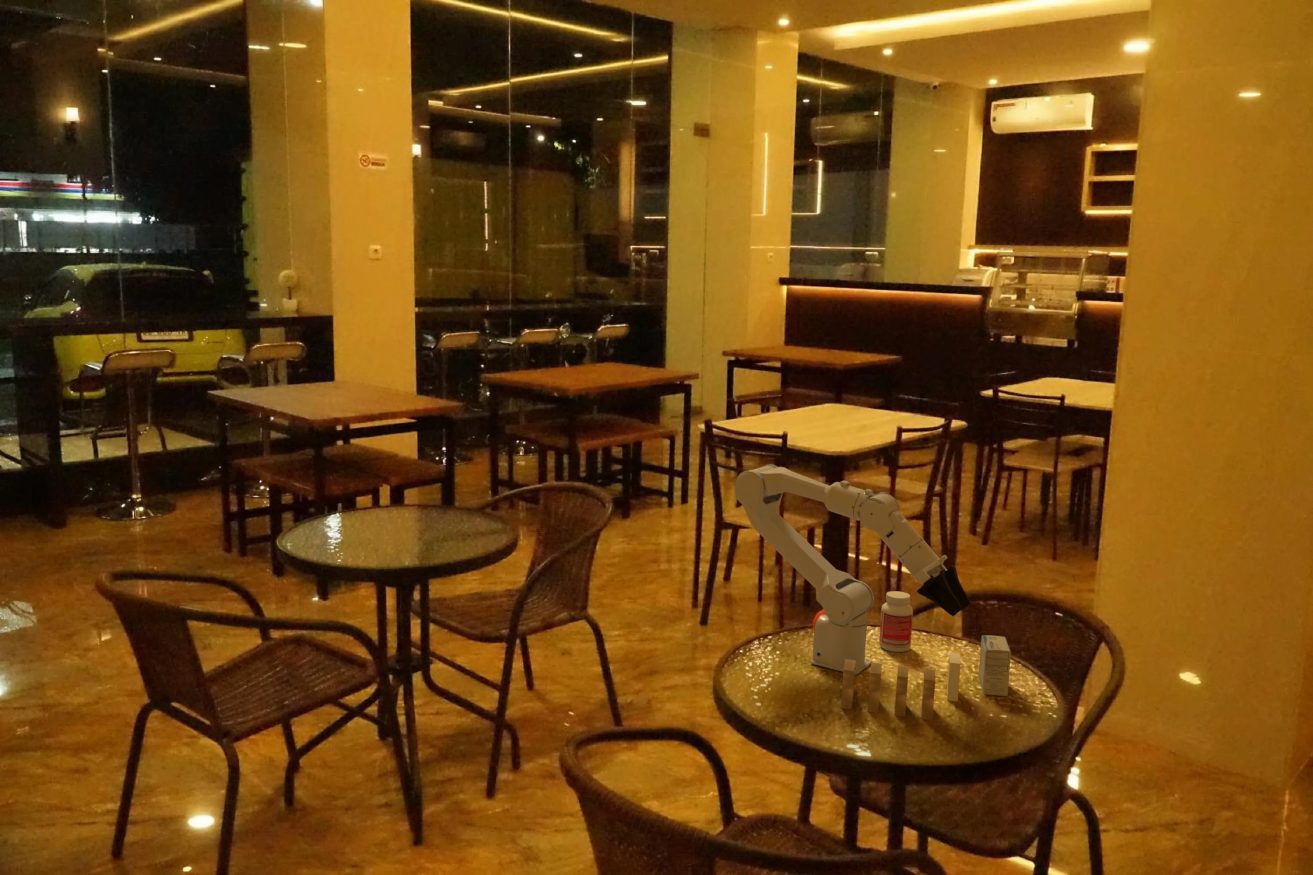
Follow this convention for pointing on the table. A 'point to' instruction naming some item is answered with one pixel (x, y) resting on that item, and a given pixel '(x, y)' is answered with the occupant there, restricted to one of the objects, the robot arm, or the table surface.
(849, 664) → the domino
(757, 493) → the robot arm
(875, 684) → the domino
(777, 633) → the table surface
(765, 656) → the table surface
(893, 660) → the table surface
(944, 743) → the table surface
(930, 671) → the domino
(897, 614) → the pill bottle
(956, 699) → the end domino
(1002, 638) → the medicine box
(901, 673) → the domino
